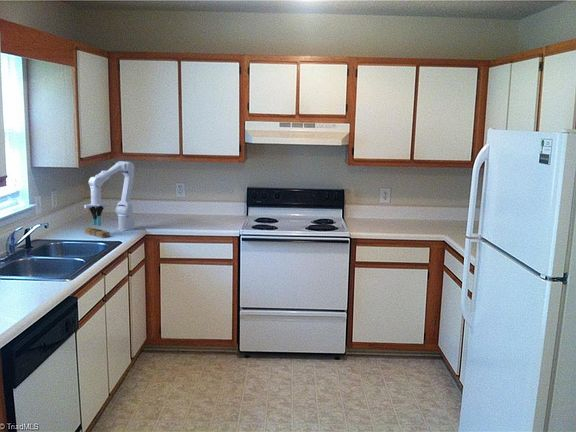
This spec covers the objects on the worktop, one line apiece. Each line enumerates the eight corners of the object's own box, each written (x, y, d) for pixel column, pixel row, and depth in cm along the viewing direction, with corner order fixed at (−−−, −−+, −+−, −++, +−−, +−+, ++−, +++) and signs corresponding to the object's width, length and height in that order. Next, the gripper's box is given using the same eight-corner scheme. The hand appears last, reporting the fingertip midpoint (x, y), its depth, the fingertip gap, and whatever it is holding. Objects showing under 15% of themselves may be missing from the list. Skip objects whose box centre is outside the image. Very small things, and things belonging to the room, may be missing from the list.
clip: (92, 224, 319) (92, 215, 318) (95, 224, 320) (95, 214, 319) (98, 226, 314) (97, 216, 314) (101, 225, 316) (100, 215, 315)
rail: (91, 231, 326) (91, 227, 326) (109, 236, 314) (109, 232, 314) (84, 233, 323) (84, 228, 322) (102, 238, 310) (102, 233, 310)
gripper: (88, 198, 306) (89, 221, 309) (110, 196, 318) (110, 218, 320) (82, 197, 311) (82, 219, 313) (104, 195, 322) (104, 216, 324)
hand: (96, 218), depth 317 cm, fingers closed on clip, 2 cm apart
